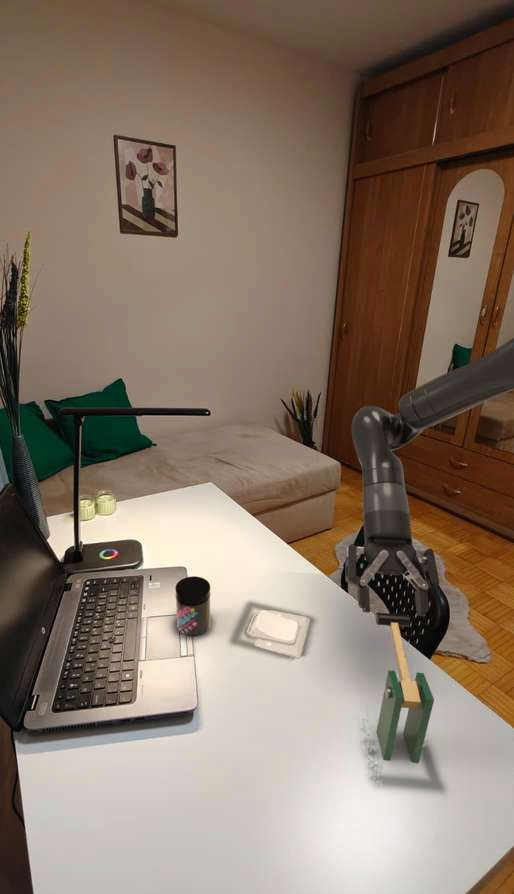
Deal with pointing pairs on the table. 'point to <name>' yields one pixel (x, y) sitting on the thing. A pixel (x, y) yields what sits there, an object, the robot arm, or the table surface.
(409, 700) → the lever
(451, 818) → the table surface
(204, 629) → the supplement container
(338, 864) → the table surface
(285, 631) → the light switch
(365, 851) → the table surface
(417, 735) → the bracket
